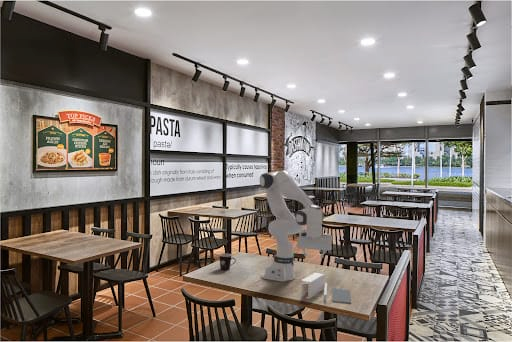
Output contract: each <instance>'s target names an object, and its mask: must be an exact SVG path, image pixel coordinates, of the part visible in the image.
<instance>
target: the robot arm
mask: <svg viewBox="0 0 512 342" xmlns="http://www.w3.org/2000/svg"><path fill="white" fill-rule="evenodd" d="M259 184H260V186H261V188H262V189H265V194H266V200H267V203H268V206H269V209H270V211H271V213H272V215H273V216H275V217H276V218H278V219H275V220H274V219H273V220H272V221H270V222H269V223H268V232H269V234H270V235H271V236H272V237H273V239H274V241H275V243H276V254H274V255H273V261H272V262H270V263H268V264H267V265H266V266H265V269H264V272H262V273H261V276H260V278H262V279H266V280H270V281H277V282H288V281H292V280H295V278H296V275H295V269H294V265H295V256H294V247H295V246H294V244H293V242H292V241H290V240H289V236H291V235H296V234H298V235H299V236H298V237H297V241H296V248H297V249H299V250H301V249H302V253H303V254H304V257H307V258H308V253H307V252H306V250H315V251H322V253H320V258H322V259H324V255H325V253H326V251H329V252H330V251H331V250H332V249H333V247H332V244H333V235H331V234H330V233H328V234H327V233H323V226H322V224H323V221H324V218H325V217H324V213H323V211H322V207H321V206H319V205H316V204H315V203H314V202H313V200H312V199H311V198H310V196H309V195H308V194H307V193H306V191H305V190H303V189H302V188H301V187H300V186H298V184H297V183H296V182H295V180H294V179H293V177H292V175H291V174H290V173H289V172H288V171H286V170H279V171H271V172H270V171H269V172H265V173H262V174H260V177H259ZM284 197H285V198H286V199H289V200H295V201H297V202H299V203H301V204H302V205H303V207H304V208H303V209H299V210H297V212H296V213H295V216H294V214H293V213H292V212H291V211H290V210H289V208H288V206H287V203H286V200H285V199H284ZM304 226H306V229H304V230H303V227H304Z"/></svg>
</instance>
